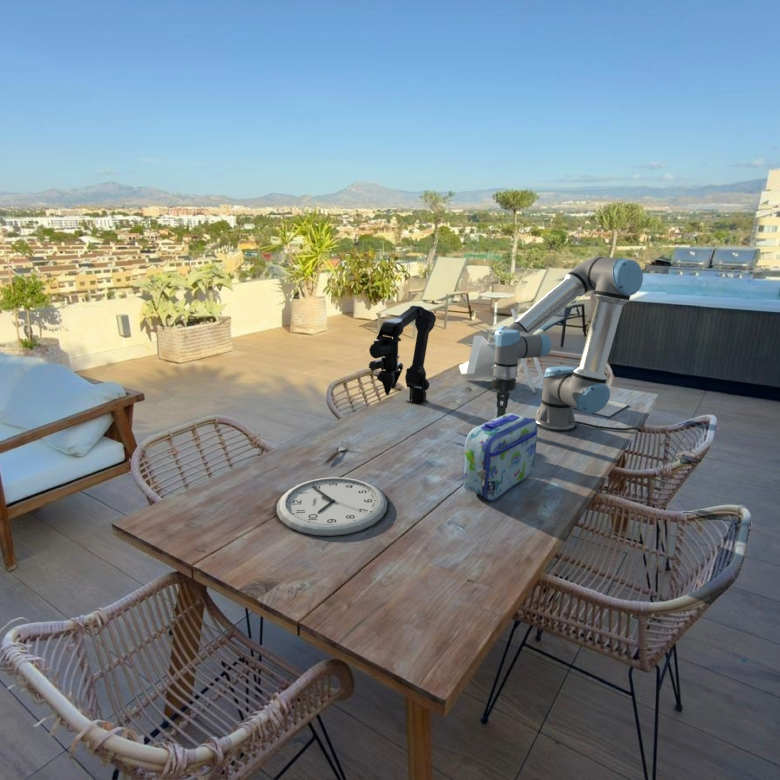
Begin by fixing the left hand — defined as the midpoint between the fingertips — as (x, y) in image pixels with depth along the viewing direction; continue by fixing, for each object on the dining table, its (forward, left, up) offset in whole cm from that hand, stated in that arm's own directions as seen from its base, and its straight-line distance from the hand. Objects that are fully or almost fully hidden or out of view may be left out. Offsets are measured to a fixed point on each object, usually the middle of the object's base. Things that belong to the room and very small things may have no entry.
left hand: (390, 391), depth 210 cm
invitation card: (+68, +62, -10) cm, 93 cm away
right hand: (+50, -8, -7) cm, 51 cm away
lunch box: (+61, -33, -10) cm, 70 cm away
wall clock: (+28, -70, -10) cm, 76 cm away
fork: (+8, -44, -10) cm, 45 cm away
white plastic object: (+21, +63, -10) cm, 68 cm away
